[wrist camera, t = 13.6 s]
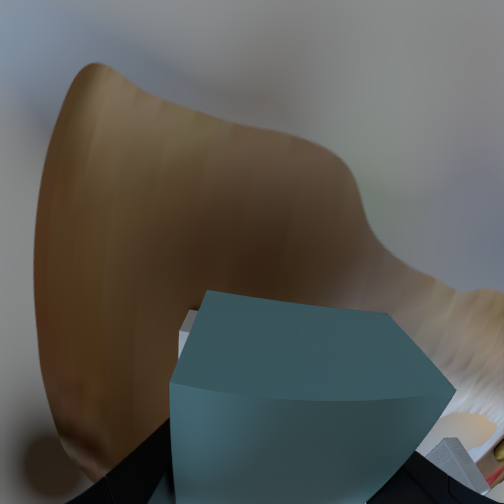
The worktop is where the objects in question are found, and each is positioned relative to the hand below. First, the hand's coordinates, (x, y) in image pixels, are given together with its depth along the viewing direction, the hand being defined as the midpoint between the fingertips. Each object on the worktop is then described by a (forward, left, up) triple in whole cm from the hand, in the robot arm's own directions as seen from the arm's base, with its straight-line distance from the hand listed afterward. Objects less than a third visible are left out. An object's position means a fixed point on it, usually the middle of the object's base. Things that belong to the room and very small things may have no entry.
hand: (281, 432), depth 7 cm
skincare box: (-22, -29, -12) cm, 38 cm away
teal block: (+1, 0, -2) cm, 2 cm away
